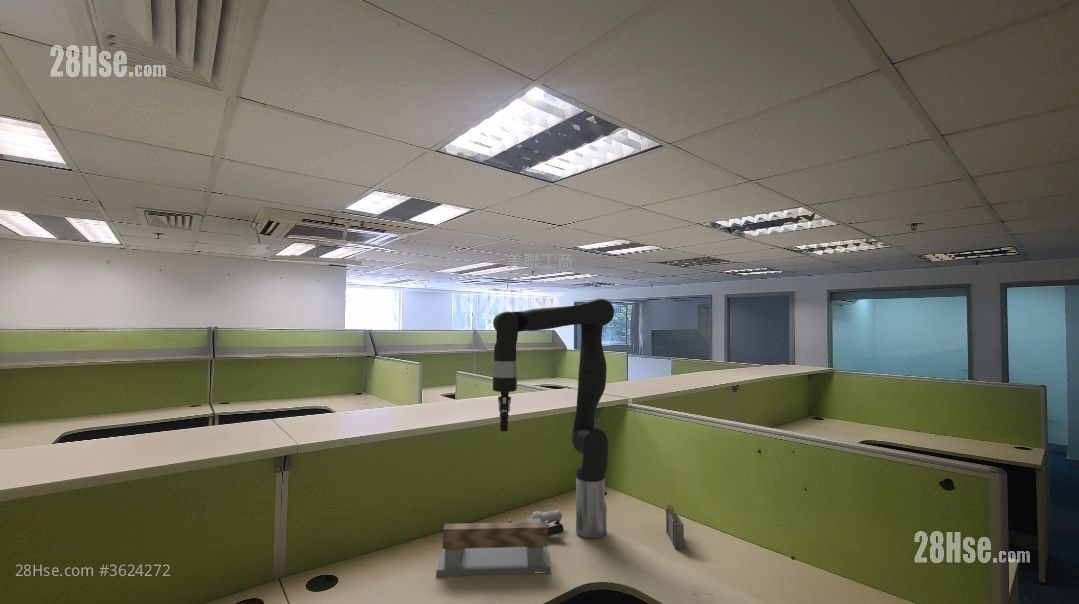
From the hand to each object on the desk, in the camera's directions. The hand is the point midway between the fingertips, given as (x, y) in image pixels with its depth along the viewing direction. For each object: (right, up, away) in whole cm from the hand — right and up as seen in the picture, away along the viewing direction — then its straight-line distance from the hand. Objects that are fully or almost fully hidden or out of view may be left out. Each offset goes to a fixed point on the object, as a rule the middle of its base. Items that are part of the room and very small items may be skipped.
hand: (504, 428), depth 135 cm
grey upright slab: (+53, -35, -1) cm, 64 cm away
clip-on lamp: (+10, -35, +5) cm, 37 cm away
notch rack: (-1, -33, -14) cm, 36 cm away
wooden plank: (-1, -27, -17) cm, 32 cm away
